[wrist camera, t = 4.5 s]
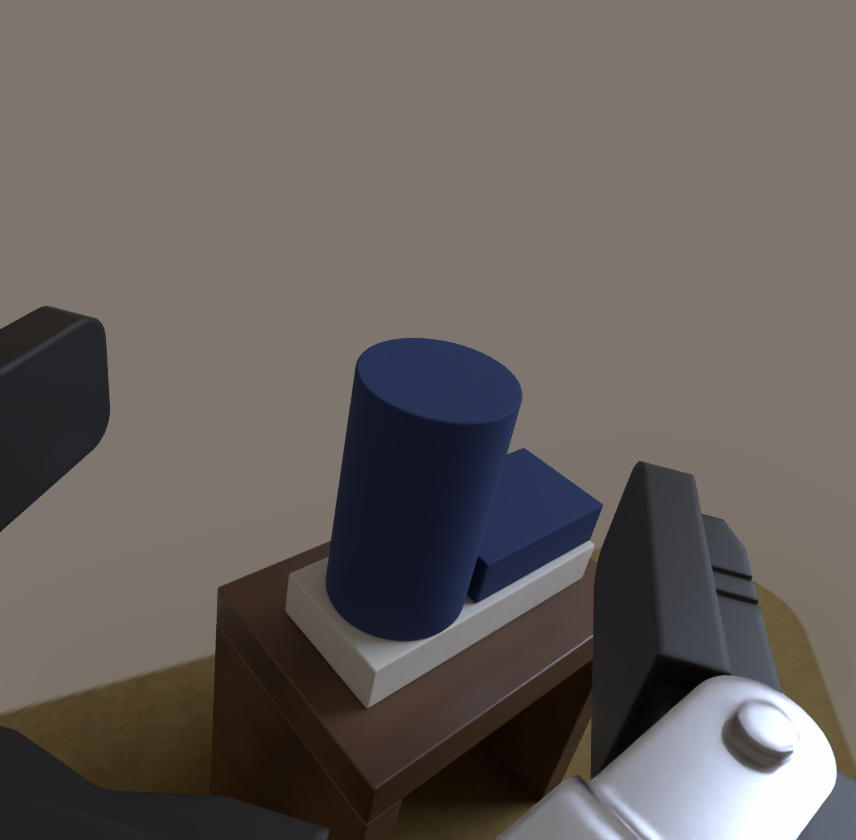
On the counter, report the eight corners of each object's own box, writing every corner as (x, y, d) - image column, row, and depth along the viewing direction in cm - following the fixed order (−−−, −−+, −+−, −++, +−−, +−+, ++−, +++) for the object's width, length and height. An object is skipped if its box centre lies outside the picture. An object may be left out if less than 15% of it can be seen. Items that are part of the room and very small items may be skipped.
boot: (366, 710, 25) (422, 445, 19) (284, 611, 28) (310, 356, 22) (582, 578, 33) (668, 359, 27) (499, 511, 36) (560, 301, 30)
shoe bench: (209, 794, 36) (216, 586, 29) (436, 658, 45) (486, 475, 38) (326, 988, 30) (374, 790, 23) (559, 785, 40) (645, 600, 32)
